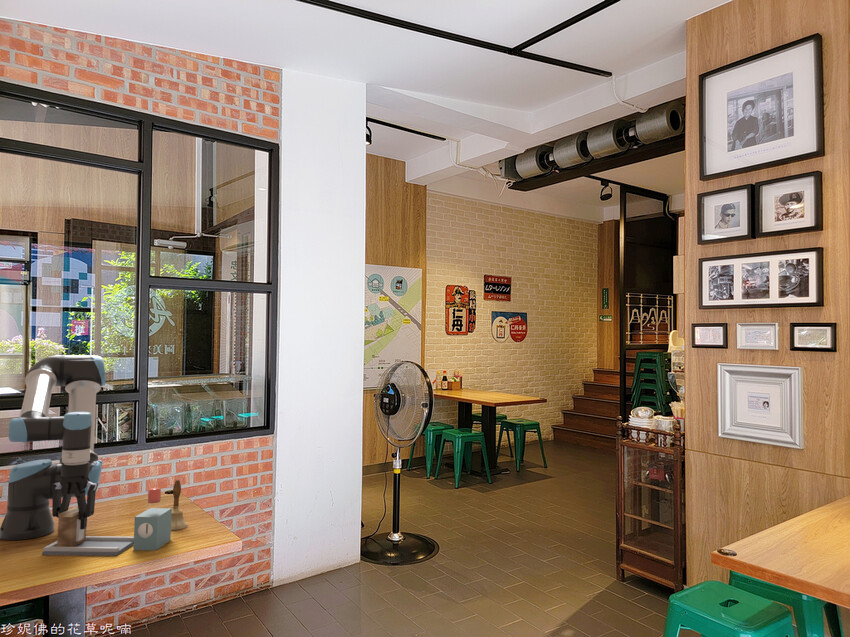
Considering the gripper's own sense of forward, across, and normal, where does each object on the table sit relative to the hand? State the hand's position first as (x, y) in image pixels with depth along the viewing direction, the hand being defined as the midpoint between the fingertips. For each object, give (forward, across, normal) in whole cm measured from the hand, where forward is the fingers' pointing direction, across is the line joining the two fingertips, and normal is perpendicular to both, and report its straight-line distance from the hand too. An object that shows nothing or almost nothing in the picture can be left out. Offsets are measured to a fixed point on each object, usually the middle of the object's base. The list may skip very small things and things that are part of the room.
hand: (72, 539), depth 178 cm
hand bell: (+3, +22, +23) cm, 32 cm away
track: (+3, +6, 0) cm, 6 cm away
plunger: (-10, +23, +4) cm, 25 cm away
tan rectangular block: (+1, 0, 0) cm, 1 cm away
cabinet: (+3, +23, +4) cm, 23 cm away
